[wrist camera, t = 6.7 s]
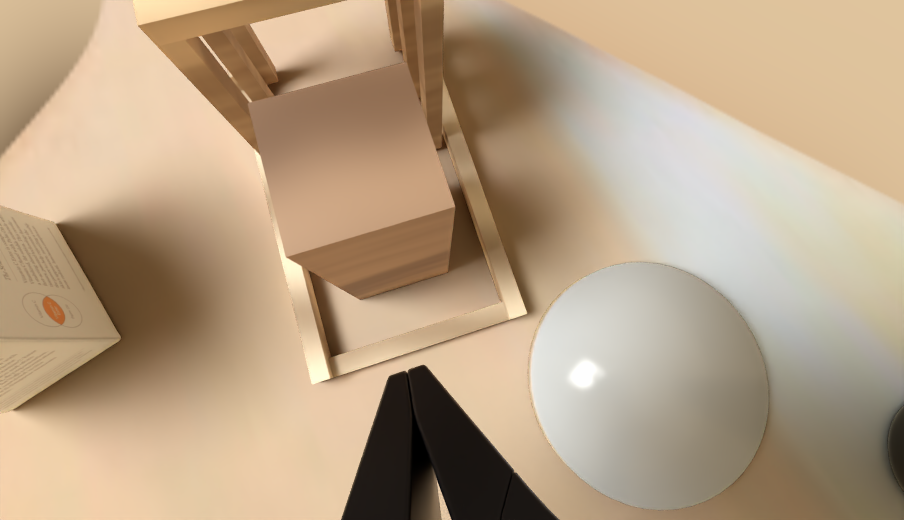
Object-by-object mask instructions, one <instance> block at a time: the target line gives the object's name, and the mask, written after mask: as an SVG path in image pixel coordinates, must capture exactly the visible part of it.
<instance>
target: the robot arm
mask: <svg viewBox="0 0 904 520" xmlns="http://www.w3.org/2000/svg"><path fill="white" fill-rule="evenodd" d="M436 478H437V480H436ZM437 481H438V484H439V486H440V489H441V492H442V495H443V497H444V500H445V503H446V506H447V508H448V511H449V514H450V517H451V519H452V520H559V519H558V518H557V517H556V516H555V515H554V514H553V513H552V512H551V511H550V510H549V509H548V508H547V507H546V506H545V505H544V504H543V503H542V501H541V500H540V499H539V498H538V497H537V496H536V495H535V494H534V493H533V491H532V490H531V489H530V488H529V487H528V486H527V485H526V483H525V482H524V481H523V480H522V479H521V478H520V476H519V475H518V474H517V473H514V470H513V468H512V467H511V466H510V465H509V464H508V462H507V461H506V460H505V459H504V458H503V457H502V455H501V454H500V453H499V452H498V451H497V449H496V448H495V447H494V446H493V445H492V444H491V442H490V441H489V440H488V439H487V438H486V436H485V435H484V434H483V433H482V432H481V430H480V429H479V428H478V427H477V426H476V425H475V423H474V422H473V421H472V420H471V419H470V417H469V416H468V415H467V414H466V413H465V412H464V410H463V409H462V408H461V407H460V406H459V404H458V403H457V402H456V401H455V400H454V398H453V397H452V396H451V395H450V394H449V393H448V391H447V390H446V389H445V388H444V387H443V385H442V384H441V383H440V382H439V381H438V379H437V378H436V377H435V376H434V375H433V374H432V372H431V371H430V370H429V369H428V368H427V367H426V366H425V365H421V366H418V367H415V368H412V369H409V370H408V373H407V372H406V371H402V372H399V373H396V374H393V375H391V376H389V378H388V380H387V383H386V386H385V389H384V392H383V395H382V398H381V401H380V404H379V407H378V410H377V413H376V416H375V419H374V422H373V425H372V428H371V431H370V434H369V437H368V440H367V443H366V446H365V449H364V452H363V455H362V458H361V461H360V464H359V467H358V470H357V473H356V476H355V479H354V482H353V485H352V488H351V491H350V494H349V497H348V500H347V503H346V506H345V509H344V512H343V516H342V519H341V520H442V519H441V511H440V503H439V496H438V488H437Z"/></svg>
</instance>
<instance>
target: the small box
mask: <svg viewBox="0 0 904 520" xmlns="http://www.w3.org/2000/svg"><path fill="white" fill-rule="evenodd" d="M120 339H121V337H120V335H119V333H118V332H117V330H116V328H115V327H114V325H113V323H112V321H111V320H110V318H109V316H108V314H107V312H106V311H105V309H104V307H103V305H102V304H101V302H100V300H99V298H98V297H97V295H96V293H95V291H94V290H93V288H92V286H91V284H90V283H89V281H88V279H87V277H86V276H85V274H84V272H83V270H82V269H81V267H80V265H79V264H78V262H77V260H76V258H75V257H74V255H73V253H72V252H71V250H70V248H69V247H68V245H67V243H66V241H65V239H64V238H63V236H62V234H61V233H60V231H59V229H58V227H57V226H56V224H55V223H54V222H52V221H48V220H45V219H41V218H38V217H35V216H32V215H29V214H25V213H22V212H19V211H16V210H13V209H10V208H6V207H3V206H0V413H5V412H9V411H11V410H13V409H15V408H17V407H18V406H20V405H21V404H23V403H24V402H26V401H27V400H29V399H31V398H32V397H34V396H35V395H37V394H38V393H40V392H41V391H43V390H44V389H46V388H48V387H49V386H51V385H52V384H54V383H55V382H57V381H58V380H60V379H61V378H63V377H64V376H66V375H67V374H69V373H71V372H72V371H74V370H75V369H77V368H78V367H80V366H82V365H83V364H85V363H86V362H88V361H89V360H91V359H92V358H94V357H95V356H97V355H99V354H100V353H102V352H103V351H104V350H106V349H107V348H109V347H111V346H112V345H114V344H115V343H117V342H118V341H120Z"/></svg>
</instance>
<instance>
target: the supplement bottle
mask: <svg viewBox="0 0 904 520" xmlns="http://www.w3.org/2000/svg"><path fill="white" fill-rule="evenodd" d="M888 455H889V460H890V464H891V467H892V470H893V473H894V475H895V478H896V480H897V482H898V484H899V485H900V487H901V489H902V490H903V492H904V406H903V407H902V408H901V409H900V410H899V411H898V412H897V414H896V415H895V417H894V419H893V421H892V424H891V427H890V430H889V435H888Z"/></svg>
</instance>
